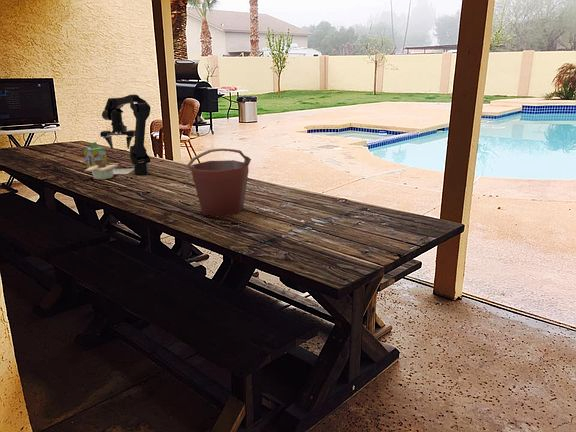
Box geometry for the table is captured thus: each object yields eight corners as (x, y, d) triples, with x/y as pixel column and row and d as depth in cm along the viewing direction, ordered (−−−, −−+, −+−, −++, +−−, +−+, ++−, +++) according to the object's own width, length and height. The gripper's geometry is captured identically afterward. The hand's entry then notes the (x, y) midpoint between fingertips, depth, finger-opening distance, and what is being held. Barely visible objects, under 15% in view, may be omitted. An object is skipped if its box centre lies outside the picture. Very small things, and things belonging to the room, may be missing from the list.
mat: (136, 169, 281) (136, 168, 281) (127, 174, 267) (127, 173, 267) (110, 169, 282) (110, 168, 281) (100, 174, 267) (100, 174, 267)
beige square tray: (118, 166, 265) (117, 157, 263) (109, 170, 252) (108, 161, 251) (95, 166, 265) (93, 157, 263) (85, 171, 252) (83, 162, 251)
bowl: (115, 175, 265) (114, 166, 263) (109, 179, 255) (107, 170, 254) (97, 175, 265) (96, 166, 263) (90, 179, 255) (89, 170, 254)
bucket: (253, 203, 205) (251, 144, 198) (251, 218, 184) (248, 153, 177) (195, 204, 204) (191, 145, 197) (187, 220, 183) (181, 154, 176)
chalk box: (94, 169, 282) (90, 144, 277) (85, 168, 287) (82, 143, 283) (108, 167, 289) (105, 142, 284) (99, 165, 294) (96, 141, 290)
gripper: (138, 119, 277) (141, 146, 282) (105, 119, 278) (109, 146, 282) (131, 121, 267) (134, 149, 271) (98, 121, 267) (101, 149, 272)
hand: (120, 148), depth 274 cm, fingers open, 9 cm apart
